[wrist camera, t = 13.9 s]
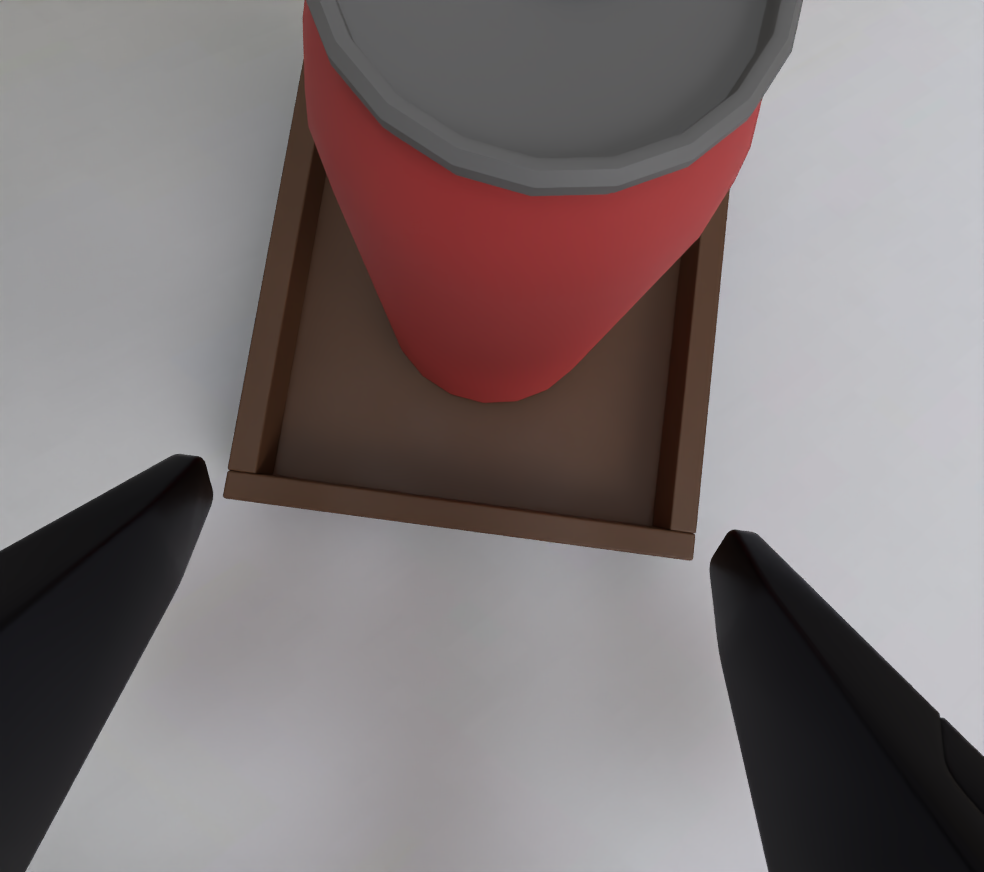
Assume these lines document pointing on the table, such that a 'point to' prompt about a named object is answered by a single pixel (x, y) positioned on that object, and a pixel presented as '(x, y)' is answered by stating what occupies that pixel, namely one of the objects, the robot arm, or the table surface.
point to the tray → (468, 401)
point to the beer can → (530, 161)
